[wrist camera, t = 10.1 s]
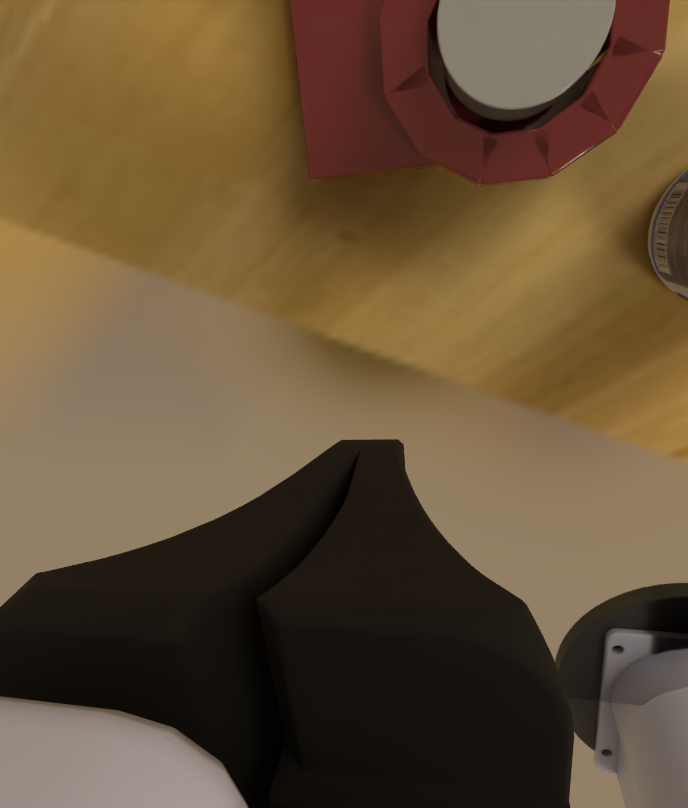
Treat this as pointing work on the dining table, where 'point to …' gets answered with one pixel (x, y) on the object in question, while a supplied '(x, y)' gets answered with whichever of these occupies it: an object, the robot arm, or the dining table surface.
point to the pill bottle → (671, 237)
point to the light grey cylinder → (518, 51)
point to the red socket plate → (449, 95)
